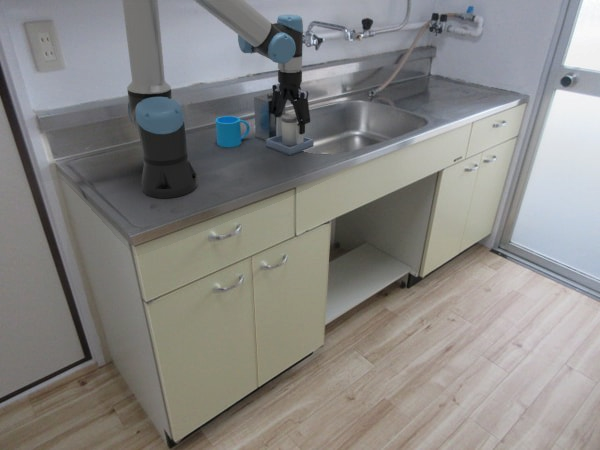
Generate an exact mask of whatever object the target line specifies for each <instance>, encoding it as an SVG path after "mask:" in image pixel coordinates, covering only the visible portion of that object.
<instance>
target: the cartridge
mask: <svg viewBox="0 0 600 450" xmlns="http://www.w3.org/2000/svg"><path fill="white" fill-rule="evenodd" d="M296 124H298V120H297V117H296V114H295V113H291V112H290V113H289V112H288V113H285V114H283V115H282V145H285V146H287V147H293V146H296V145H298V144H296Z"/></svg>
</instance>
